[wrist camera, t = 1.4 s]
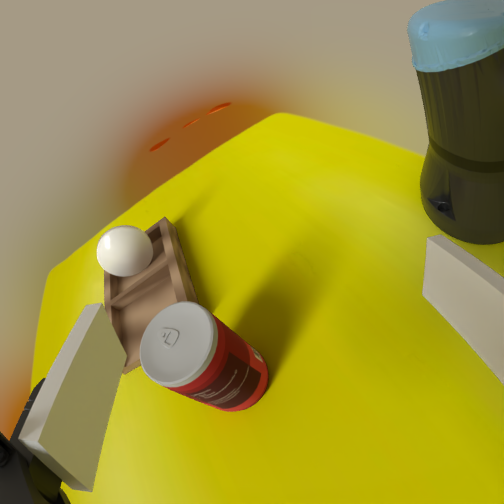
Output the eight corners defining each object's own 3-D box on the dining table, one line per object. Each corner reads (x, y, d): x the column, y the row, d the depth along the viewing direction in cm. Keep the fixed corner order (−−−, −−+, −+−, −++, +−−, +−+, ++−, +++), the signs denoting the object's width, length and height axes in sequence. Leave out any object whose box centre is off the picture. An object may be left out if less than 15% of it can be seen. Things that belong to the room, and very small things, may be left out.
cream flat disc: (123, 280, 51) (85, 248, 45) (163, 250, 50) (127, 214, 44) (123, 285, 50) (85, 253, 44) (164, 255, 50) (127, 218, 43)
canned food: (216, 344, 36) (155, 299, 29) (278, 349, 33) (225, 300, 25) (198, 405, 32) (127, 375, 25) (262, 419, 28) (197, 393, 21)
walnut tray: (115, 272, 56) (104, 263, 54) (175, 228, 55) (165, 216, 53) (124, 374, 40) (108, 366, 38) (205, 325, 39) (191, 313, 37)
